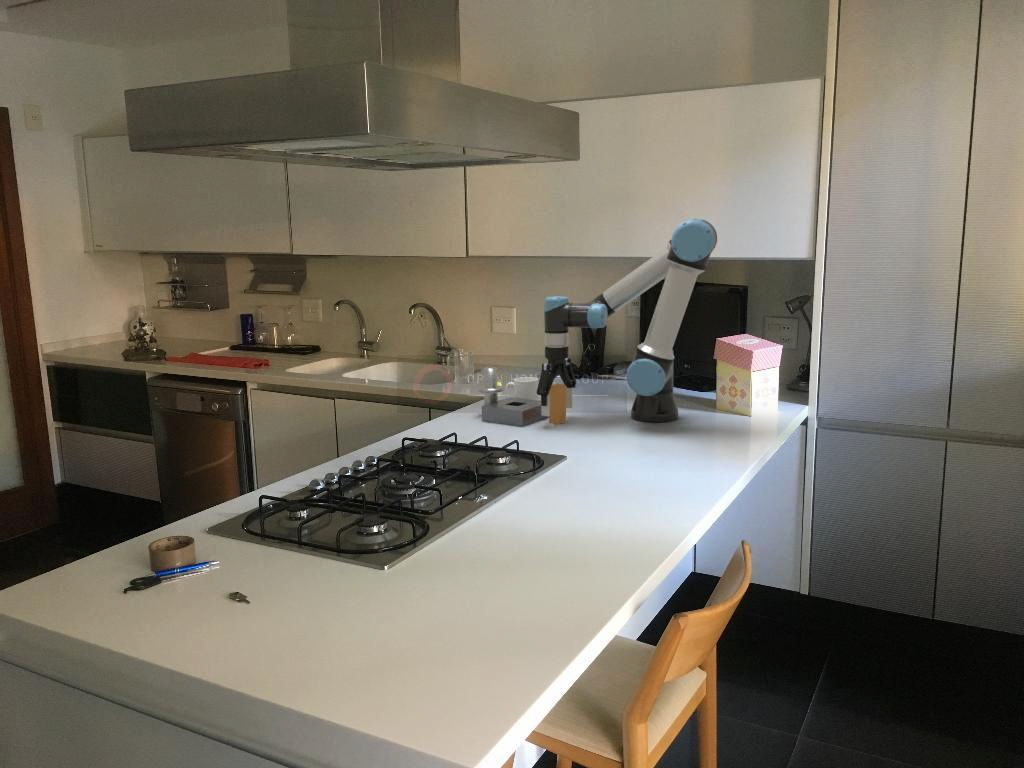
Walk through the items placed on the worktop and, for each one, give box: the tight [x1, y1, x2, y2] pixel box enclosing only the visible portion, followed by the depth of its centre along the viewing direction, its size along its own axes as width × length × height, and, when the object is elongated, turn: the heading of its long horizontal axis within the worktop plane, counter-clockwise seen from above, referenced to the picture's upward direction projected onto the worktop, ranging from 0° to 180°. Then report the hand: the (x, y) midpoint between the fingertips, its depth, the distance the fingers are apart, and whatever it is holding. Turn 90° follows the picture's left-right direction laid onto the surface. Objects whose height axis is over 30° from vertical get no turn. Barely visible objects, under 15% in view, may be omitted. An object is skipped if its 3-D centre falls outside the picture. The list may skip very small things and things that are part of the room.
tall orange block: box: [548, 383, 567, 425], centre depth 266 cm, size 4×4×12 cm
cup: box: [504, 376, 540, 401], centre depth 288 cm, size 8×12×10 cm
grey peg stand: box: [477, 366, 549, 428], centre depth 273 cm, size 22×16×16 cm
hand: (557, 411), depth 266 cm, fingers open, 13 cm apart
